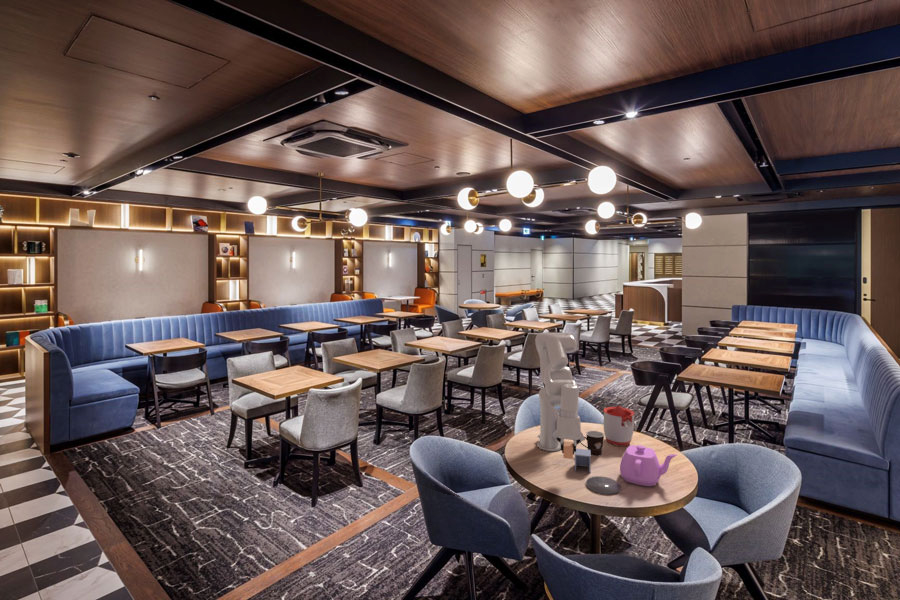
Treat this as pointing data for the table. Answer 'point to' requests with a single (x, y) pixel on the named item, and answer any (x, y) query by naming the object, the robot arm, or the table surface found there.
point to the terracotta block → (568, 450)
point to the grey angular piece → (583, 458)
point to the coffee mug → (594, 442)
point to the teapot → (642, 465)
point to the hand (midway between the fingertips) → (568, 452)
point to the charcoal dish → (603, 485)
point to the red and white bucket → (618, 425)
